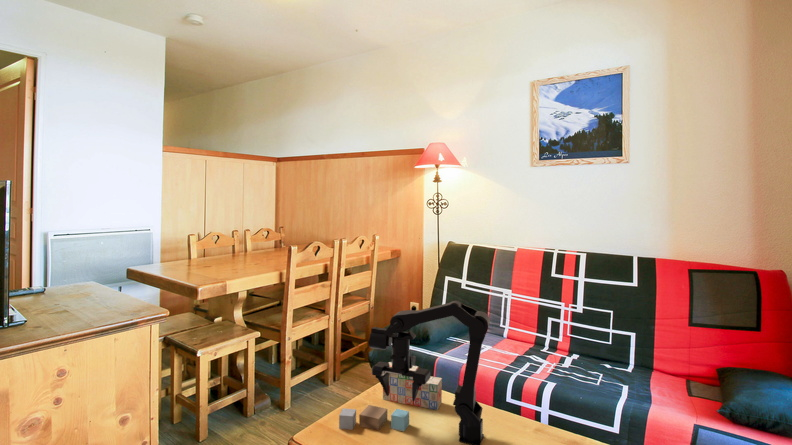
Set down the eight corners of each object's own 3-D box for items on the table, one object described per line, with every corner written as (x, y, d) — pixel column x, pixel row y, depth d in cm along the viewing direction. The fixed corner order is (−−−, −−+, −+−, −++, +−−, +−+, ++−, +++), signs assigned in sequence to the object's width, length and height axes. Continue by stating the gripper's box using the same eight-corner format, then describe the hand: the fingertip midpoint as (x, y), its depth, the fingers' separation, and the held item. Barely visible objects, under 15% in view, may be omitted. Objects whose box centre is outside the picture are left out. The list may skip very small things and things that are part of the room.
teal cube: (409, 424, 131) (409, 411, 131) (403, 431, 127) (404, 417, 127) (396, 421, 133) (396, 408, 133) (391, 428, 129) (391, 415, 129)
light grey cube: (356, 422, 132) (356, 409, 132) (352, 430, 128) (352, 416, 128) (343, 421, 133) (343, 408, 133) (339, 428, 129) (339, 415, 129)
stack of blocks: (442, 402, 147) (442, 369, 146) (437, 410, 141) (437, 376, 140) (388, 392, 154) (388, 361, 154) (382, 399, 149) (382, 367, 148)
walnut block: (387, 420, 134) (387, 408, 134) (378, 431, 128) (378, 418, 128) (368, 416, 137) (368, 404, 137) (359, 426, 130) (359, 414, 130)
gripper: (435, 347, 133) (435, 393, 133) (385, 339, 140) (385, 383, 141) (424, 358, 123) (424, 408, 123) (370, 349, 130) (370, 396, 131)
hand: (400, 398), depth 130 cm, fingers open, 9 cm apart
